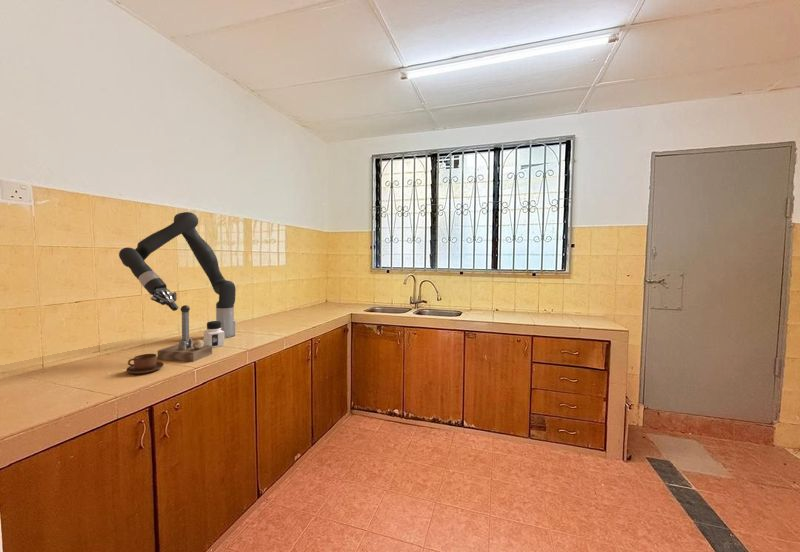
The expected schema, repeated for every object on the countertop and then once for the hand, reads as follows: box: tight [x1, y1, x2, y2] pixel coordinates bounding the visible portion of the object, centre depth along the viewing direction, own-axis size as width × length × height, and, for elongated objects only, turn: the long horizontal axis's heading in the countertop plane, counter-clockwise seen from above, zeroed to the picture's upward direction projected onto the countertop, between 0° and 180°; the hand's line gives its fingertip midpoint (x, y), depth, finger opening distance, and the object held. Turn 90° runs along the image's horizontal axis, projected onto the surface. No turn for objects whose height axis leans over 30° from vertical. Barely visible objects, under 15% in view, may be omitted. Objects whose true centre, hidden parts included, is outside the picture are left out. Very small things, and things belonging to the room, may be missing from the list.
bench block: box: [157, 338, 213, 363], centre depth 154 cm, size 18×12×8 cm, turn 83°
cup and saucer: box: [126, 353, 164, 375], centre depth 134 cm, size 12×12×6 cm
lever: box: [180, 304, 191, 348], centre depth 153 cm, size 4×4×20 cm
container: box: [203, 320, 225, 349], centre depth 173 cm, size 8×8×13 cm
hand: (176, 309), depth 153 cm, fingers closed
